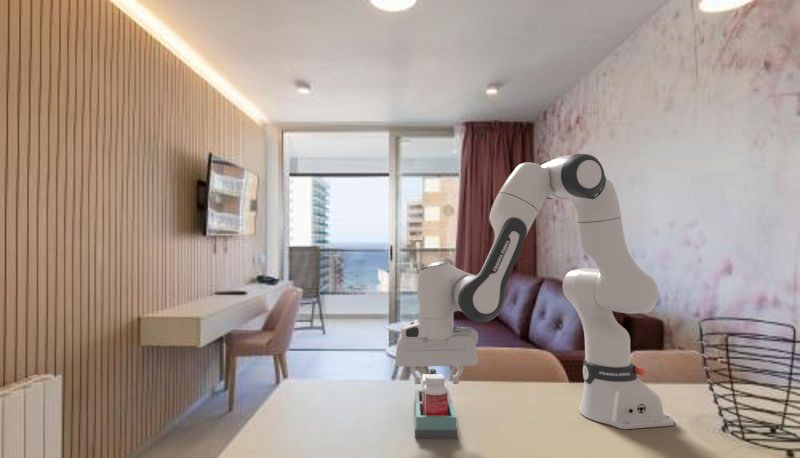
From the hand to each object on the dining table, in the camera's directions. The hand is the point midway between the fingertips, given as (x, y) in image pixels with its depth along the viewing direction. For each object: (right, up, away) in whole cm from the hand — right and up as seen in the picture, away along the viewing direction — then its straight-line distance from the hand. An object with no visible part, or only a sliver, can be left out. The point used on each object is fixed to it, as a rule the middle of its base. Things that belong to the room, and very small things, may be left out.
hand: (436, 383), depth 110 cm
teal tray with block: (0, -11, +4) cm, 12 cm away
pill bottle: (-1, -10, -1) cm, 10 cm away
